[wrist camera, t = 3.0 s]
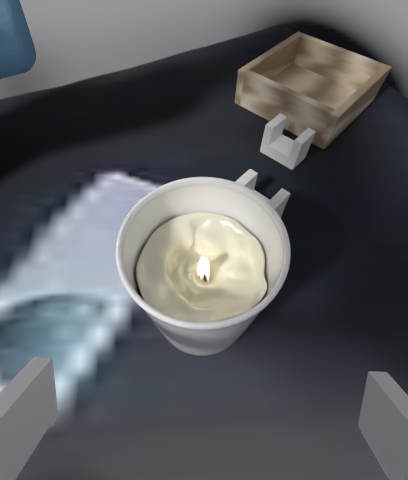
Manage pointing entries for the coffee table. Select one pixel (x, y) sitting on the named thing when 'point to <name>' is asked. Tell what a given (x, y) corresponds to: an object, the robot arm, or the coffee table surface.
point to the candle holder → (202, 260)
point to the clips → (279, 156)
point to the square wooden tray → (310, 86)
